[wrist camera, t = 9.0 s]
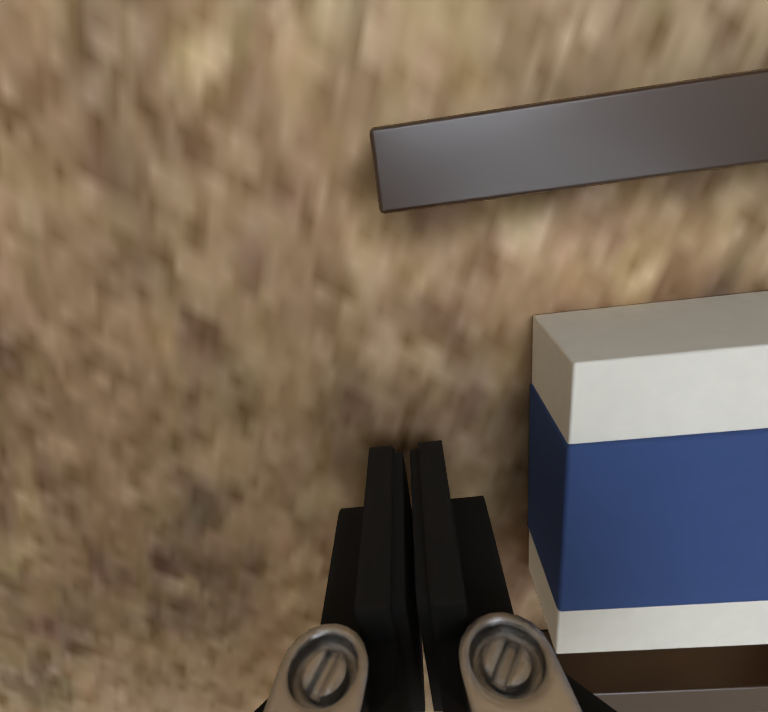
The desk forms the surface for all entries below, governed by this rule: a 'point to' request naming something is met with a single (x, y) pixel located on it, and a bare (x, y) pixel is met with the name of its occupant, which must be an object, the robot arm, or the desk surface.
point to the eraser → (651, 474)
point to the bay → (580, 169)
